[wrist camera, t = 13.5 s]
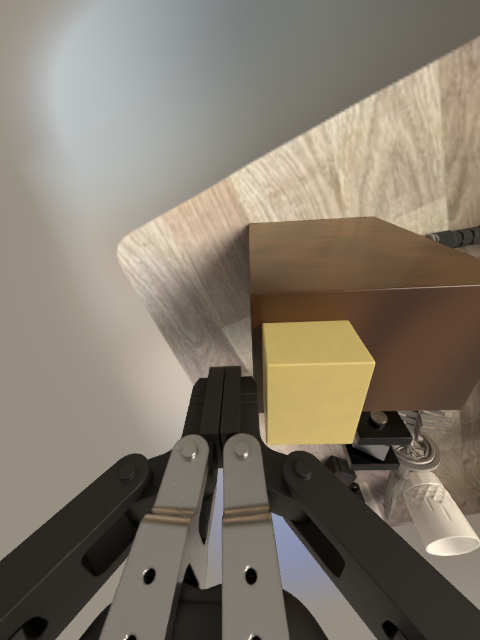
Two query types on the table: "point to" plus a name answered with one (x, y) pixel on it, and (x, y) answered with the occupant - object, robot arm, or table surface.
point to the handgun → (344, 474)
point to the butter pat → (313, 382)
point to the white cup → (437, 516)
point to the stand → (374, 303)
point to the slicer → (377, 440)
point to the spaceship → (405, 454)
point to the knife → (457, 237)
